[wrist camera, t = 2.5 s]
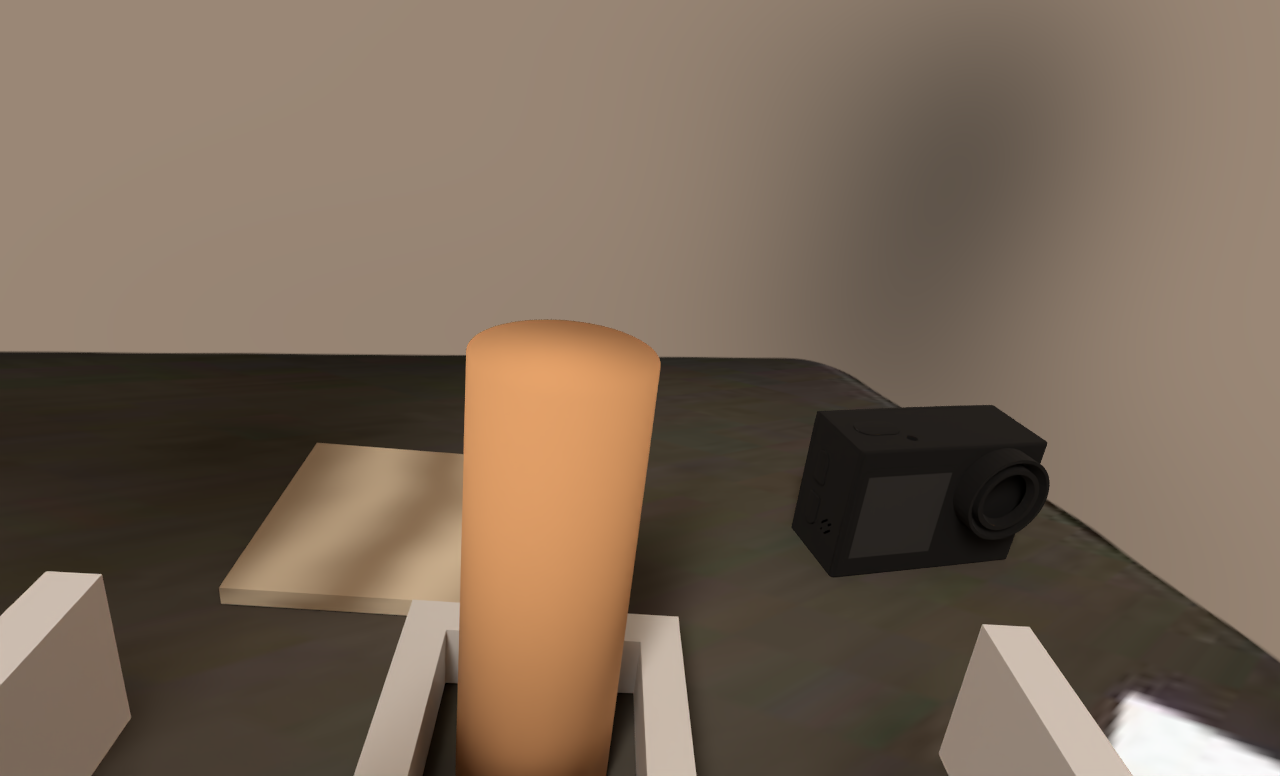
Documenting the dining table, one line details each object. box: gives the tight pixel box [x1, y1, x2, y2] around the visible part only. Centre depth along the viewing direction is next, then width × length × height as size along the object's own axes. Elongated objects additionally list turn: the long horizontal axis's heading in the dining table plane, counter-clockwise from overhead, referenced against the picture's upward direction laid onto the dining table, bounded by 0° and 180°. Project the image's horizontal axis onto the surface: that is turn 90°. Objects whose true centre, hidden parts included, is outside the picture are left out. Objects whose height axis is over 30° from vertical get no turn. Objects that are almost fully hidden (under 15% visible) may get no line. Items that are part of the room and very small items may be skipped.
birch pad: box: [219, 443, 464, 615], centre depth 39 cm, size 12×12×1 cm
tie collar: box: [354, 600, 696, 776], centre depth 27 cm, size 10×10×2 cm
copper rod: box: [456, 320, 660, 776], centre depth 24 cm, size 5×5×15 cm
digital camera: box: [792, 405, 1049, 577], centre depth 40 cm, size 10×5×7 cm, turn 107°
